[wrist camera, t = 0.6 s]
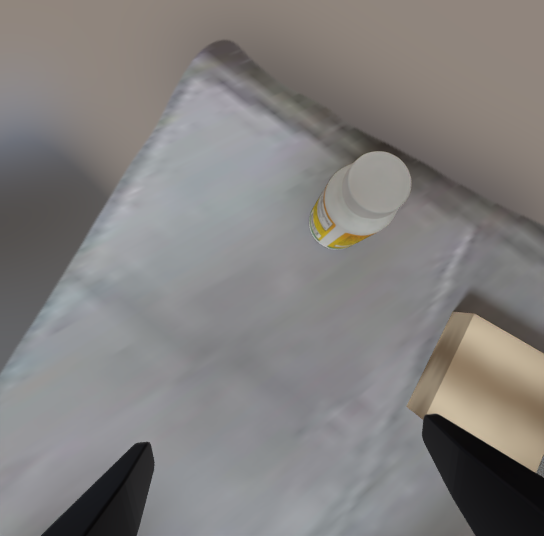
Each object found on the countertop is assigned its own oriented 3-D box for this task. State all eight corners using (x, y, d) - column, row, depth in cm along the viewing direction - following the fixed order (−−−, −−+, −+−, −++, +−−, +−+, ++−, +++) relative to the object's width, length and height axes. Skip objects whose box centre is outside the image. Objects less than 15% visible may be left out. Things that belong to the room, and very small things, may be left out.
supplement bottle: (297, 230, 25) (318, 190, 15) (327, 187, 26) (366, 123, 16) (343, 261, 25) (393, 240, 15) (372, 217, 25) (438, 171, 16)
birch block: (497, 460, 24) (531, 483, 21) (403, 404, 24) (423, 420, 21) (539, 363, 25) (577, 372, 22) (449, 311, 25) (474, 313, 22)
